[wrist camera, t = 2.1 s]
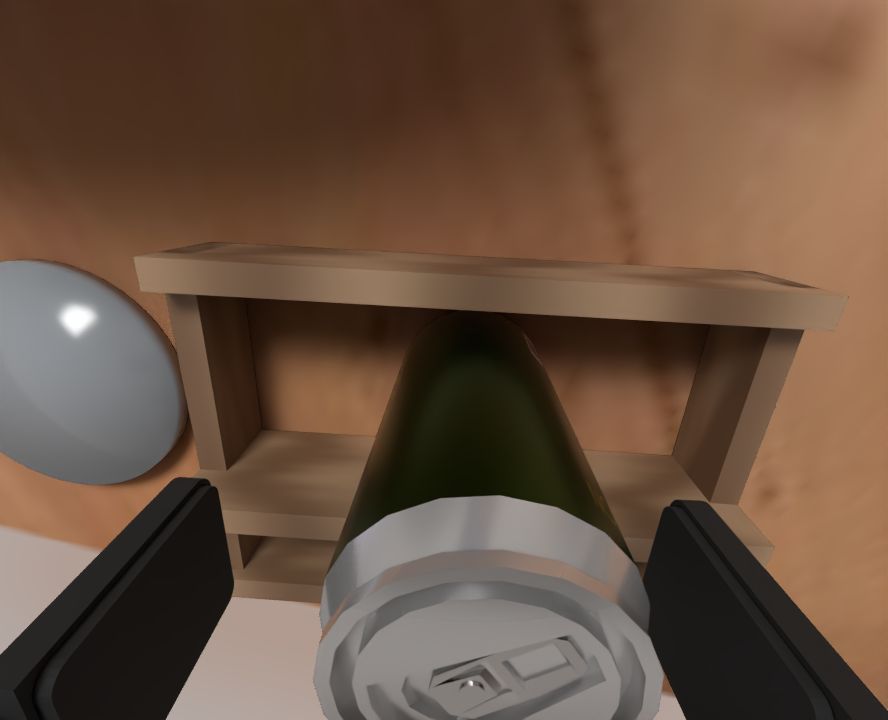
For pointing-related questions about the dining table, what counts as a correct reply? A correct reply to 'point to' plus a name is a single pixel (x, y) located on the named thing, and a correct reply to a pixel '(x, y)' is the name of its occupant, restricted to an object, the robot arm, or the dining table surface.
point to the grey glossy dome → (83, 377)
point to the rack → (478, 289)
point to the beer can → (482, 553)
